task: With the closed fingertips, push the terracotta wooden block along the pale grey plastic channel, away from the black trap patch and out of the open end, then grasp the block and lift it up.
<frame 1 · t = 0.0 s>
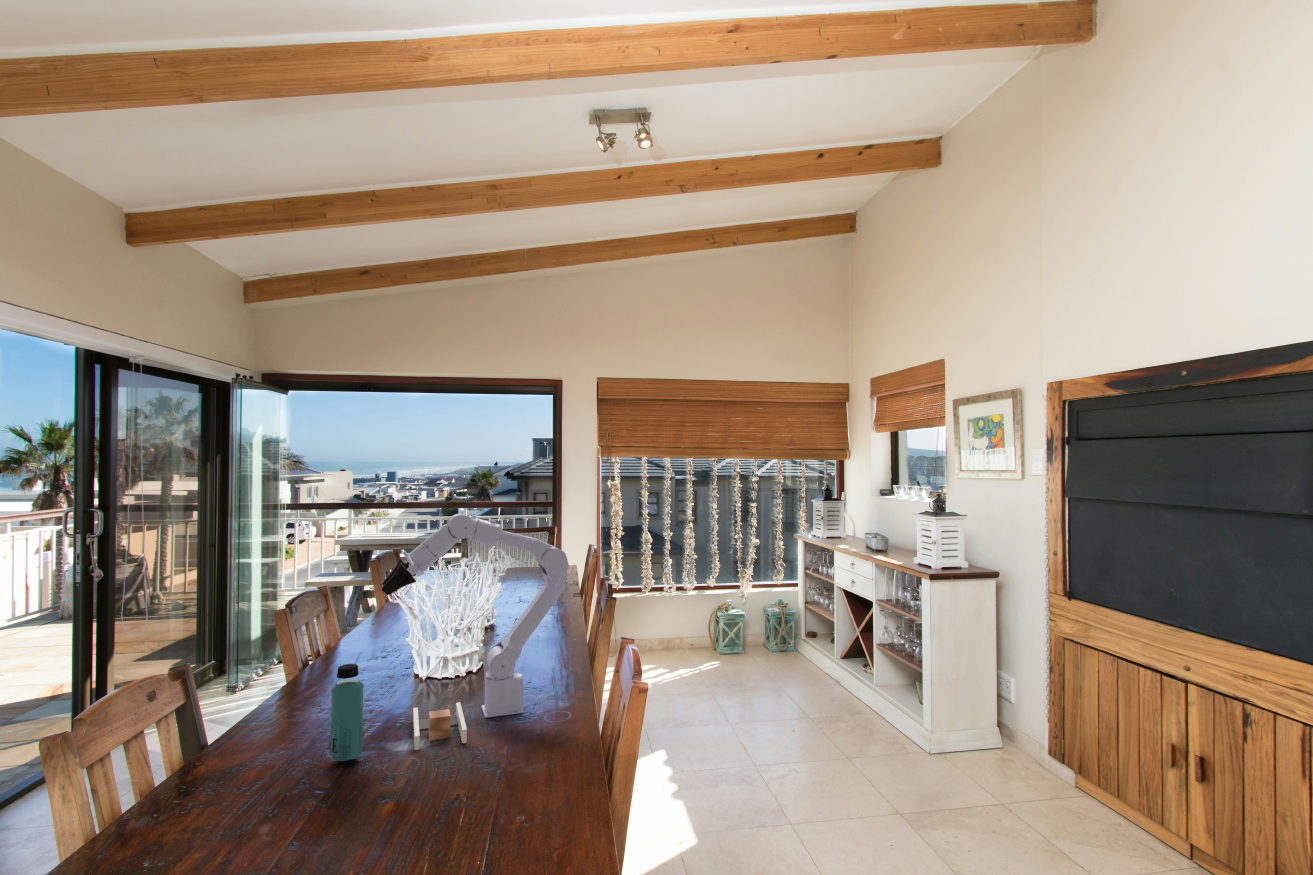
hand: (384, 589, 157), 32 cm above the table, tool tilted 50°, fingers open, 7 cm apart
block: (439, 735, 150), on the table
beverage bottle: (345, 762, 136), on the table
channel: (438, 730, 153), on the table
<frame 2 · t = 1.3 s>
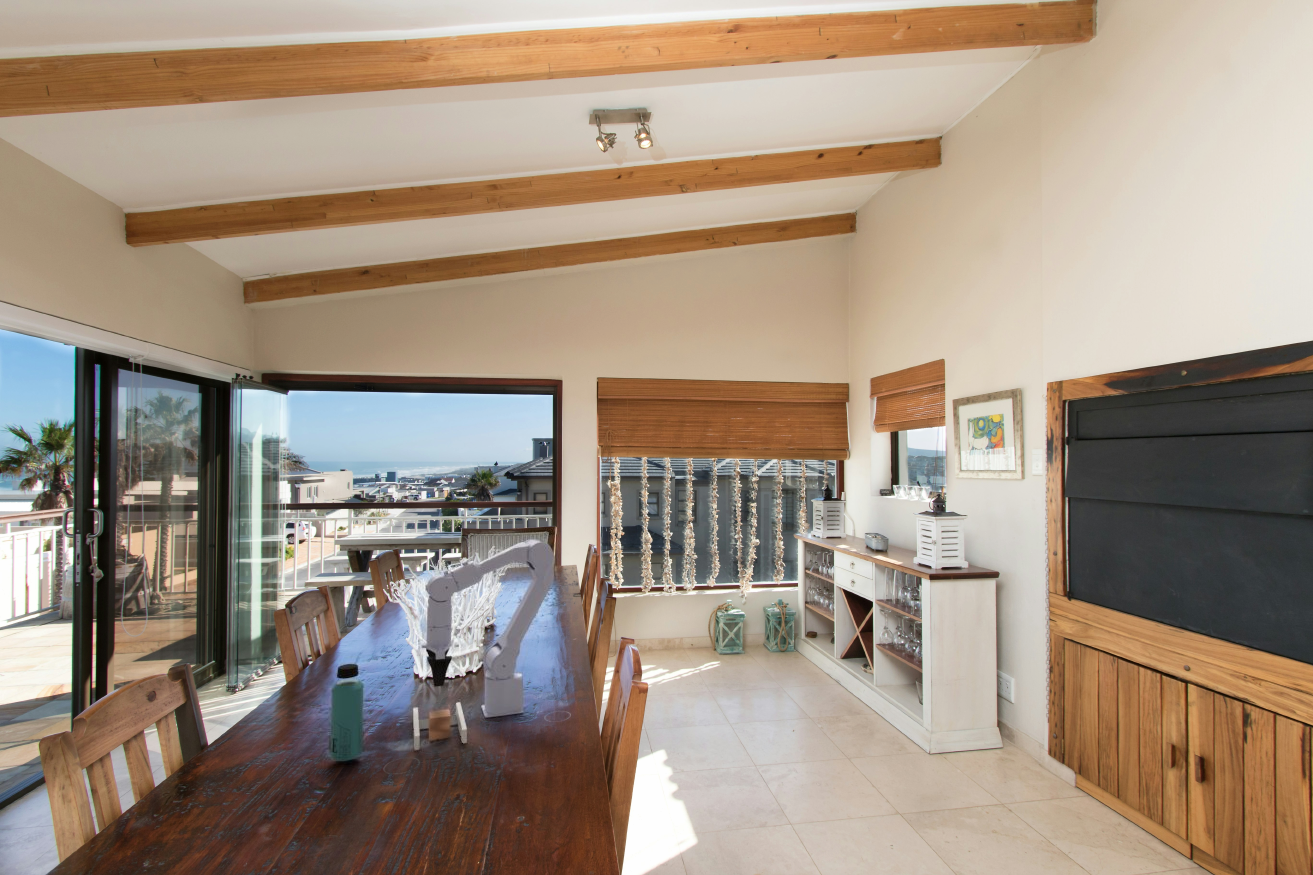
hand: (438, 681, 160), 9 cm above the table, tool pointing down, fingers open, 7 cm apart
nothing on the table moved.
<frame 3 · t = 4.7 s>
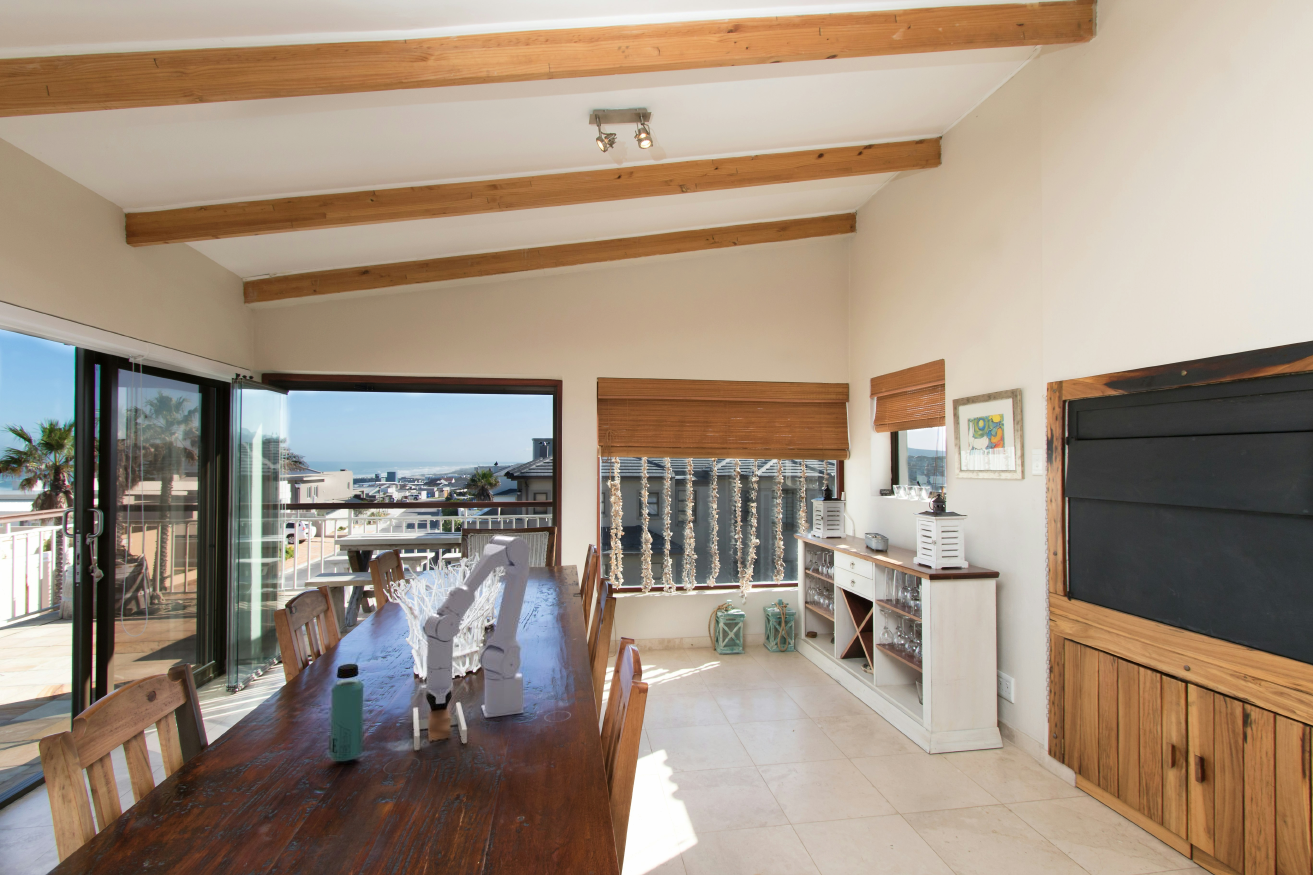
hand: (438, 724, 153), 2 cm above the table, tool pointing down, fingers closed, pressing on block
block: (438, 735, 150), on the table, tilted 5°, touching gripper
everything else where it was.
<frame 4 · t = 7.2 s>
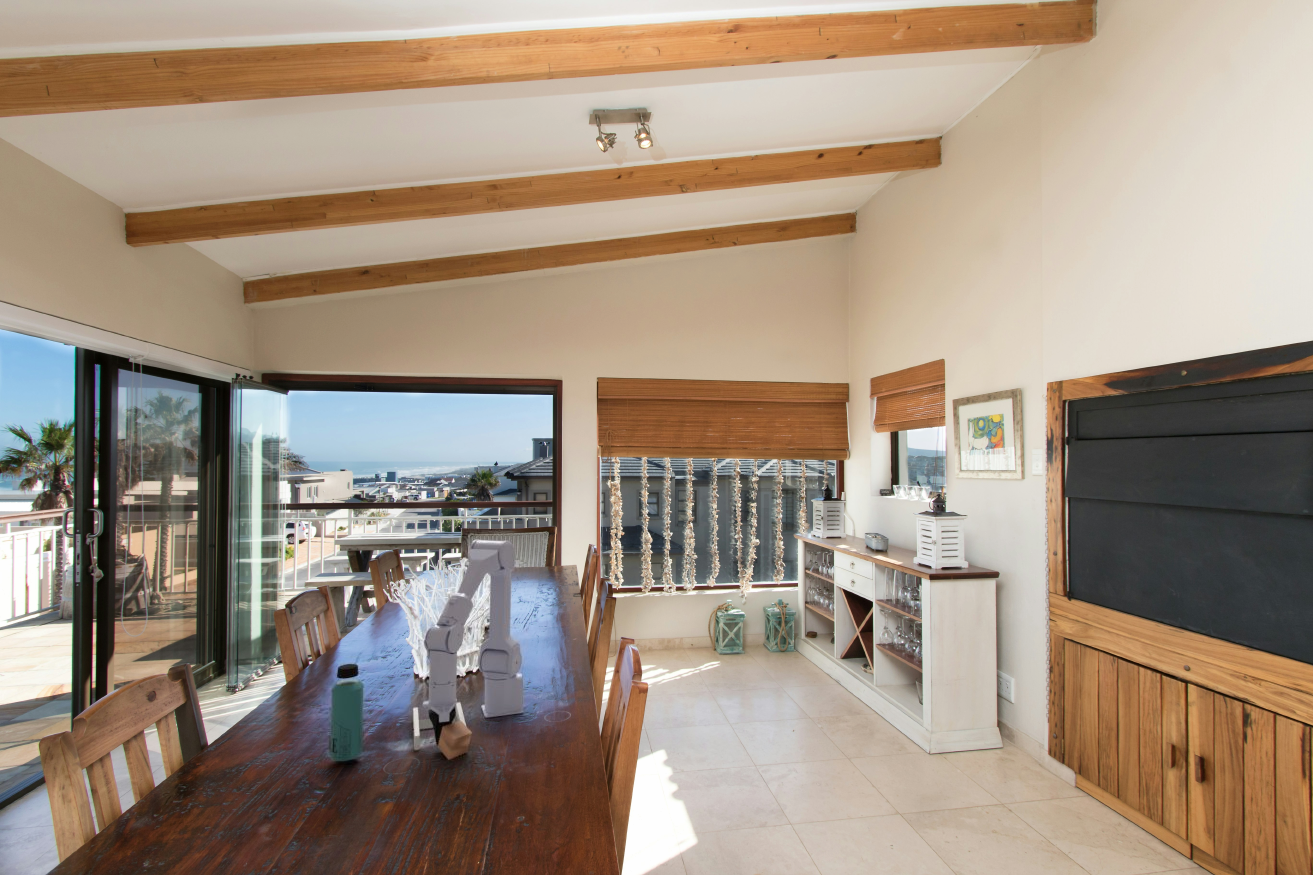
hand: (441, 743, 142), 1 cm above the table, tool pointing down, fingers closed
block: (452, 749, 141), point 1 cm above the table, tilted 20°, touching gripper
everything else where it was.
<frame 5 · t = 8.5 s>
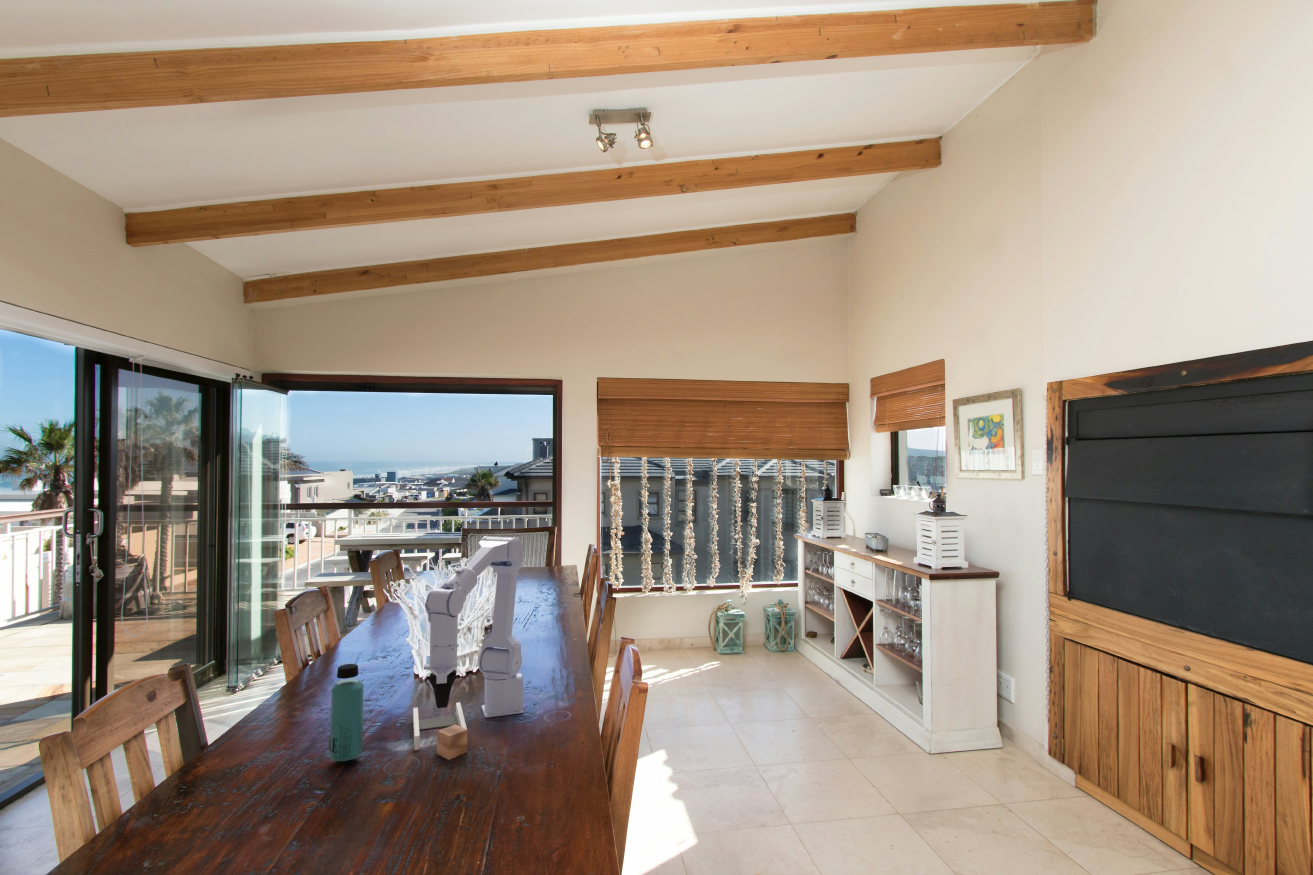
hand: (442, 706, 143), 9 cm above the table, tool pointing down, fingers closed
block: (452, 753, 141), on the table
everything else where it was.
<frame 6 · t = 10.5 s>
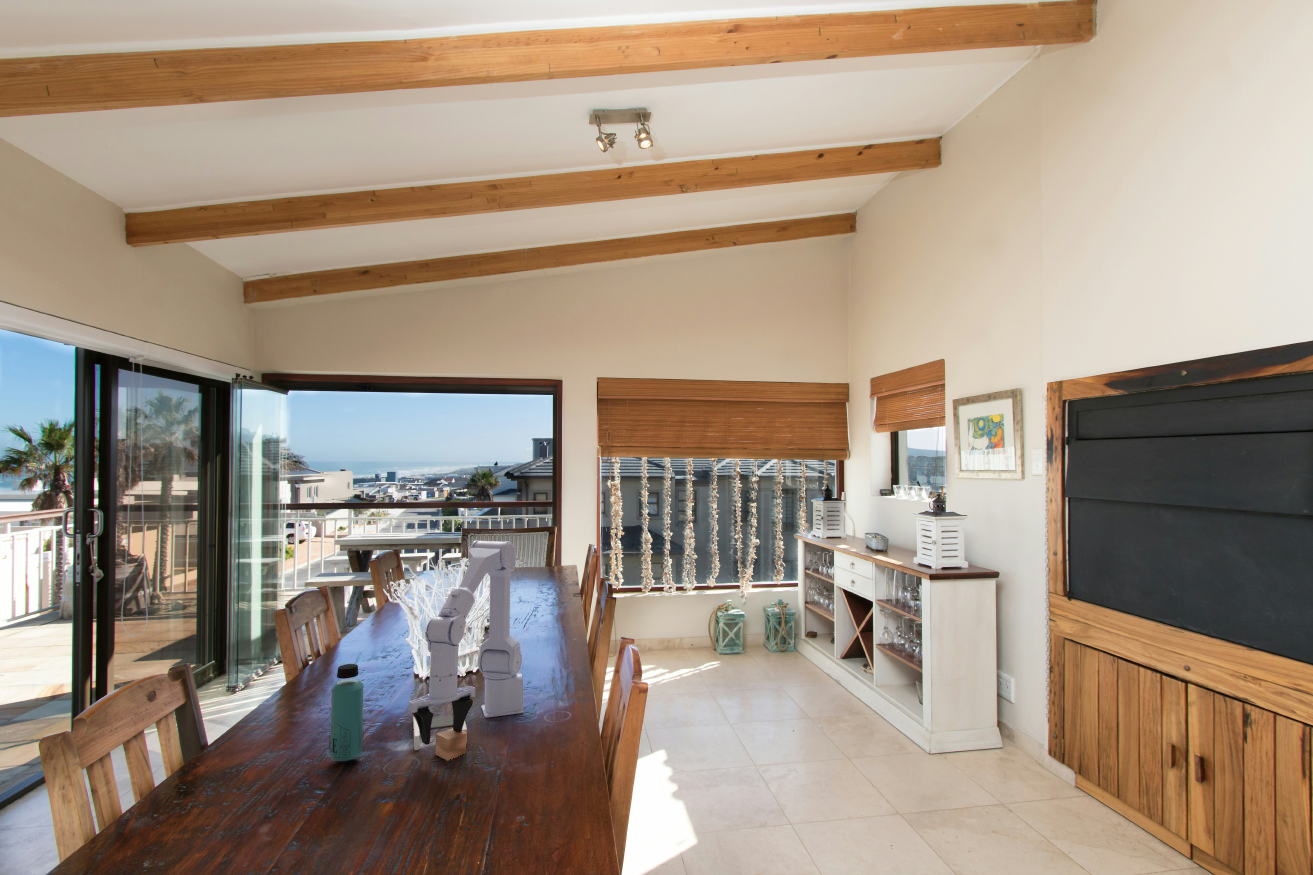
hand: (441, 738, 139), 4 cm above the table, tool pointing down, fingers open, 7 cm apart
block: (450, 756, 140), on the table, touching gripper
everything else where it was.
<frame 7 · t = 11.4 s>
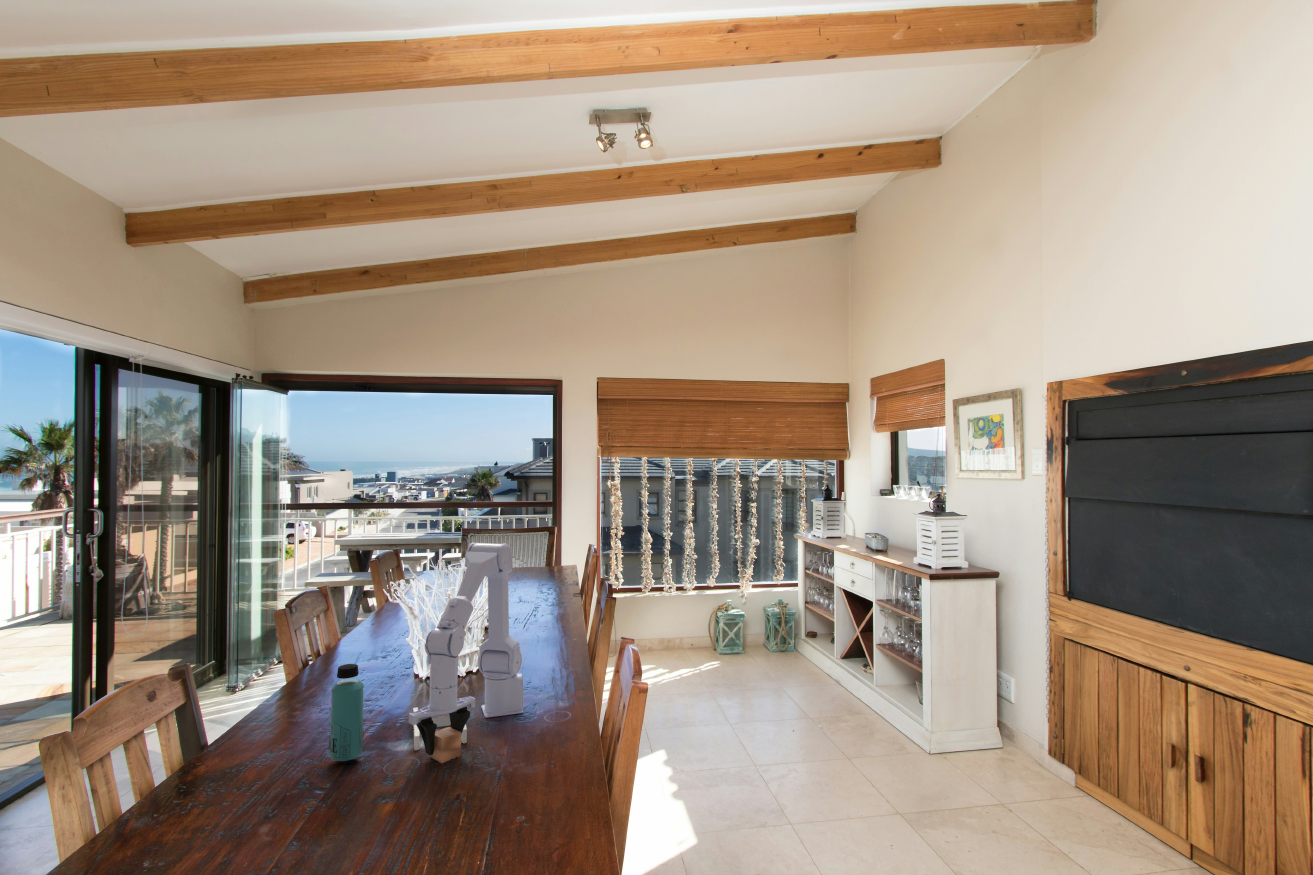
hand: (442, 749, 140), 1 cm above the table, tool pointing down, fingers open, 5 cm apart
block: (445, 756, 139), on the table, touching gripper
everything else where it was.
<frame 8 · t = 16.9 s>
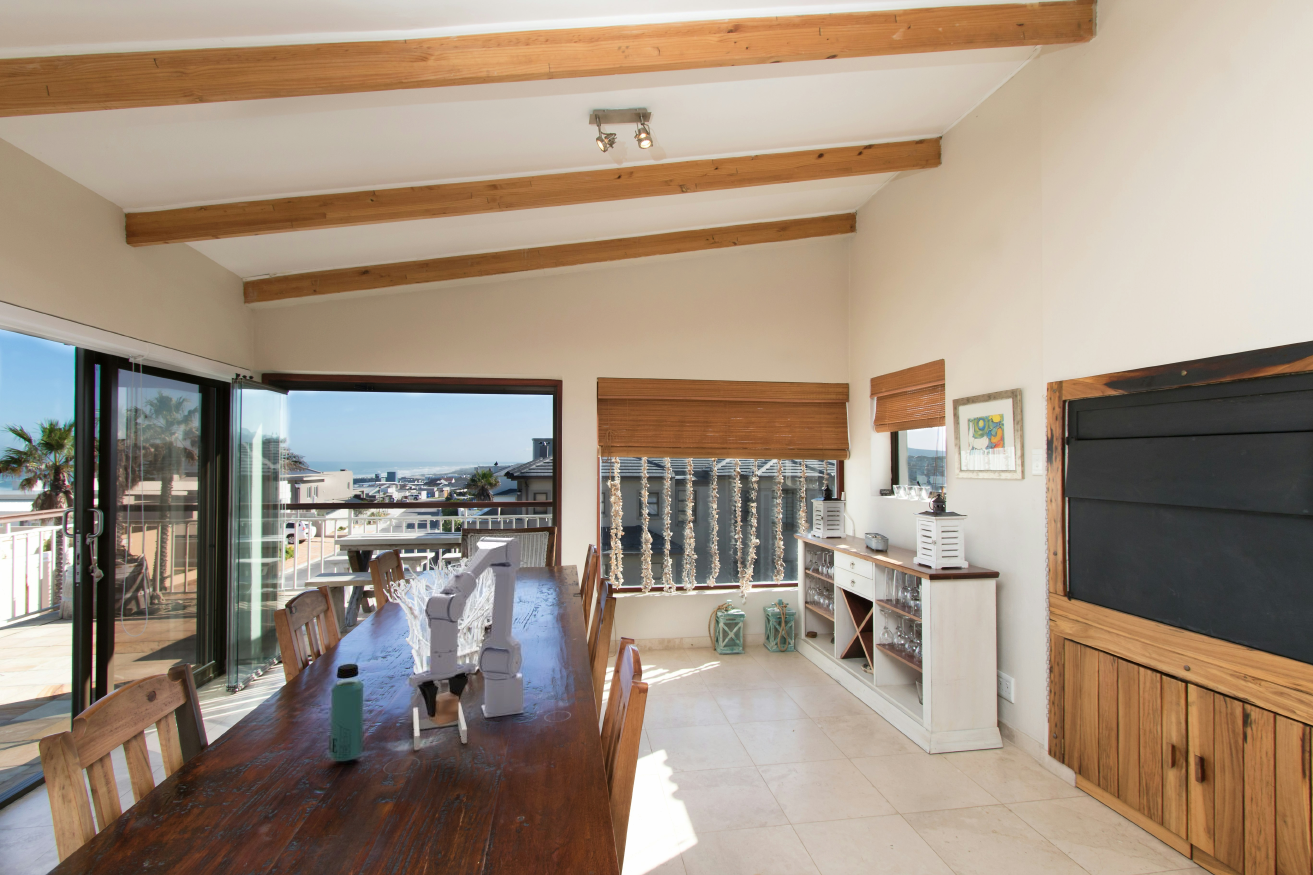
hand: (442, 712, 142), 8 cm above the table, tool pointing down, fingers closed on block, 4 cm apart
block: (443, 719, 141), point 7 cm above the table, touching gripper
everything else where it was.
at the end: the gripper is holding block; block point 7.0 cm above the table; block inside the target area (0.6 cm from its centre), point 7.0 cm above the table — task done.
